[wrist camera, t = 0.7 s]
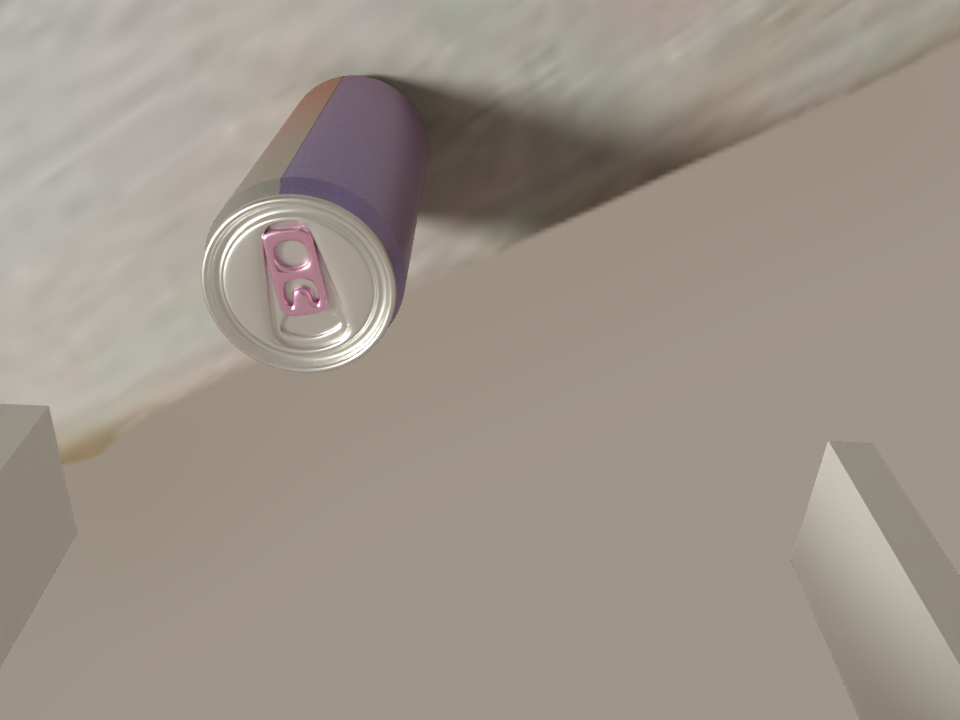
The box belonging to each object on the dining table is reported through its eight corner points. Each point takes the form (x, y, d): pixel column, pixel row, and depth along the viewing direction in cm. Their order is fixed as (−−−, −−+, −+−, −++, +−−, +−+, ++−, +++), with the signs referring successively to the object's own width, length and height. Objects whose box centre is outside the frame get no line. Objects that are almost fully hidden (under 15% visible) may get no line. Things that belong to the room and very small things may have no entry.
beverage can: (417, 63, 37) (382, 178, 24) (438, 199, 40) (417, 368, 27) (276, 81, 37) (166, 204, 24) (307, 215, 40) (224, 389, 27)
